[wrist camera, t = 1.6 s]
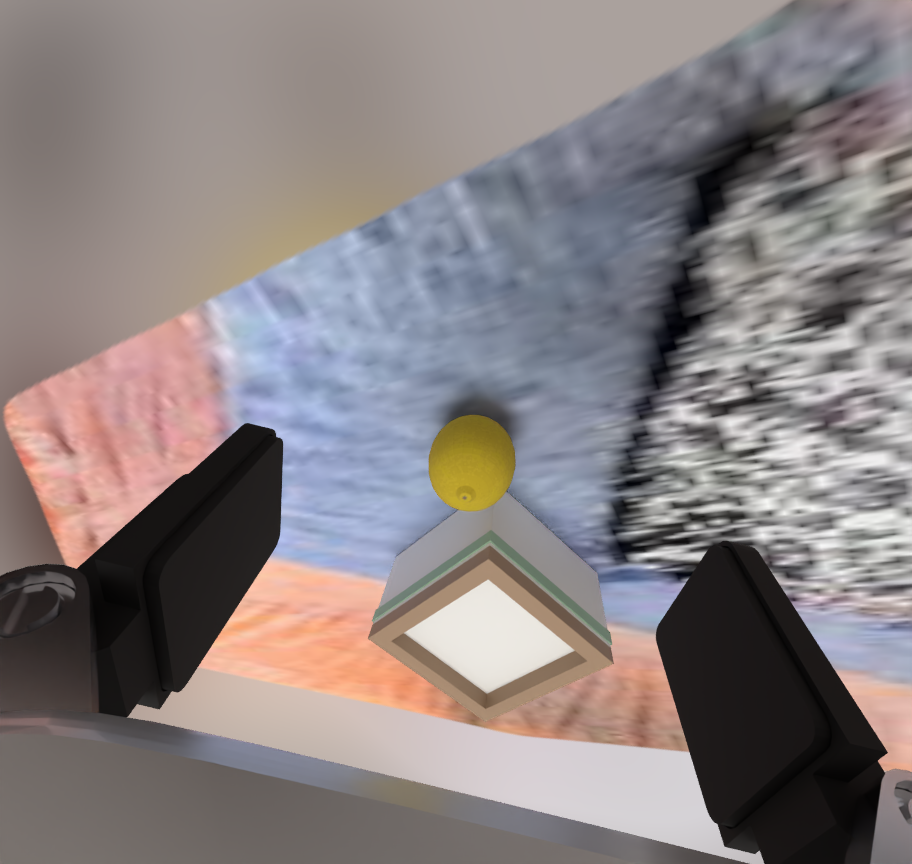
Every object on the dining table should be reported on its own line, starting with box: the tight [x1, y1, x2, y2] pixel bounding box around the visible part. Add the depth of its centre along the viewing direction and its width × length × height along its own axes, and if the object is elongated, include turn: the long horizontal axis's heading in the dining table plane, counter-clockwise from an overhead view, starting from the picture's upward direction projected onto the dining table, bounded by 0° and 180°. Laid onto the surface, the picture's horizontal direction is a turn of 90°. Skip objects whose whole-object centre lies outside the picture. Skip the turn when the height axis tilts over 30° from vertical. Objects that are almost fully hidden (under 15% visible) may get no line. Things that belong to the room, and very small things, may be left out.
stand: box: [368, 491, 614, 722], centre depth 36 cm, size 12×12×8 cm
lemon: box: [429, 415, 515, 512], centre depth 30 cm, size 6×6×8 cm
